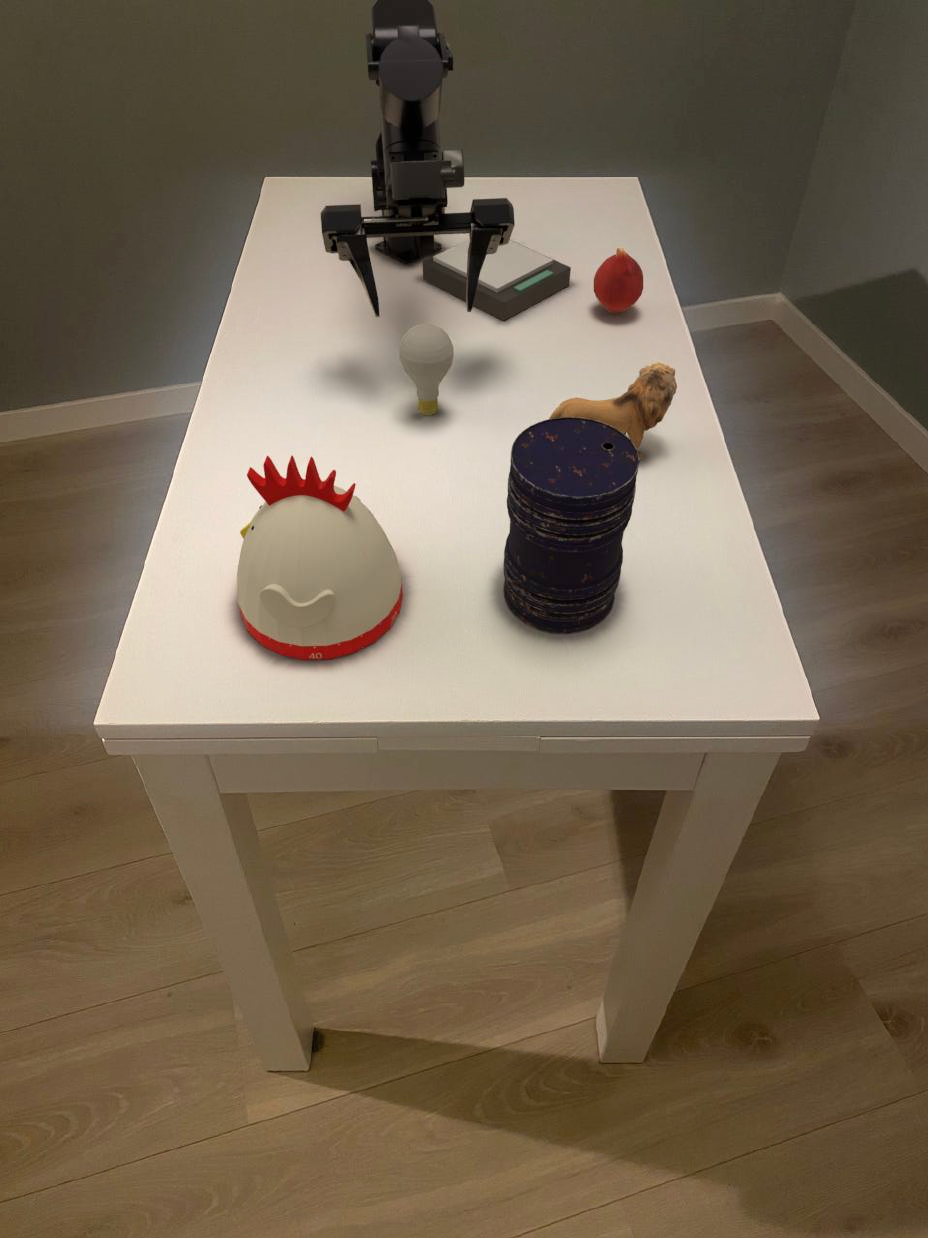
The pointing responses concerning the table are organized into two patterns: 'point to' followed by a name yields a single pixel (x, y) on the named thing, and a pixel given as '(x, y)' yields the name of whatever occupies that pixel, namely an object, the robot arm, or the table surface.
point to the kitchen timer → (315, 567)
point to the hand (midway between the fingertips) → (423, 313)
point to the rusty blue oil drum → (567, 522)
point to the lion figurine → (629, 404)
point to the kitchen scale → (499, 277)
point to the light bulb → (426, 362)
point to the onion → (618, 282)
